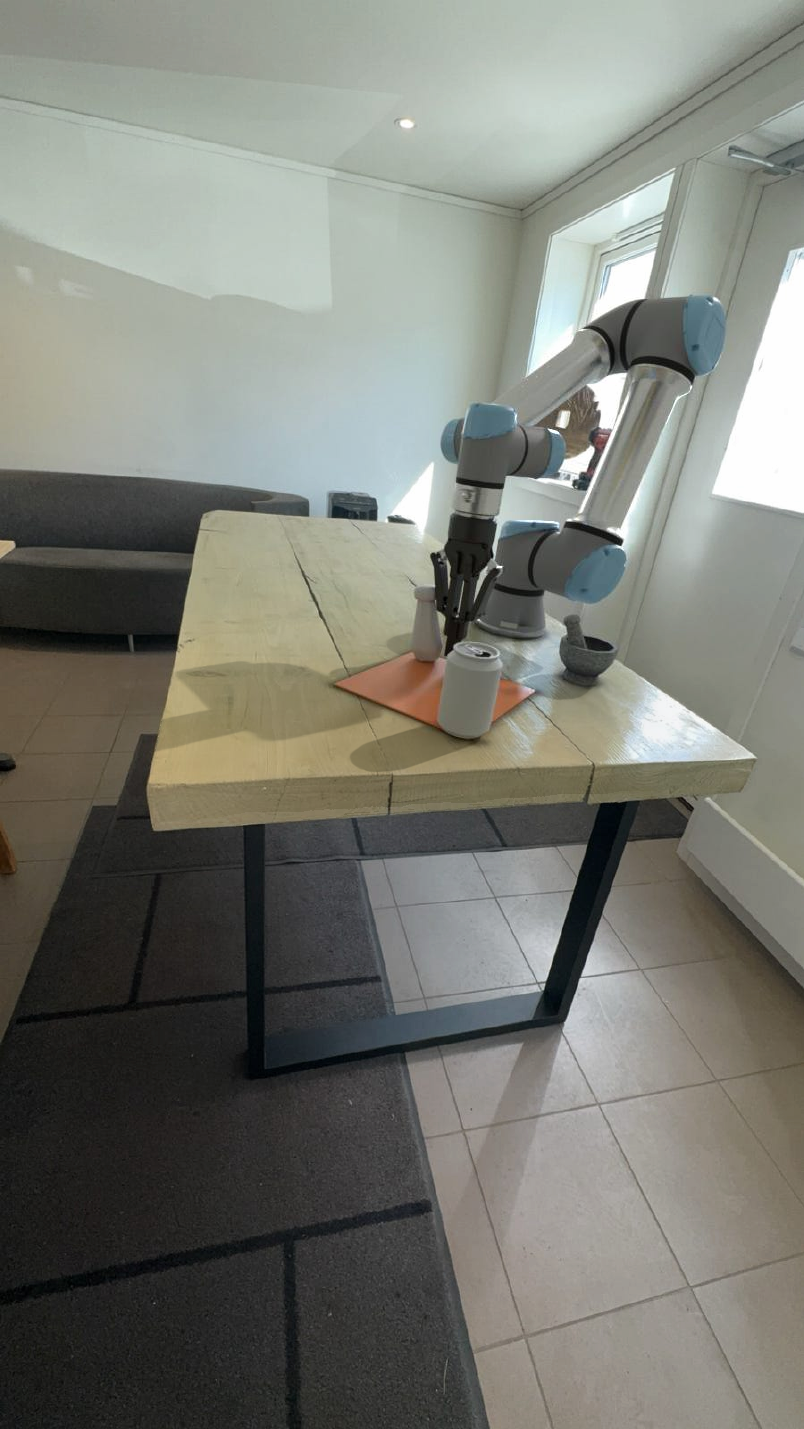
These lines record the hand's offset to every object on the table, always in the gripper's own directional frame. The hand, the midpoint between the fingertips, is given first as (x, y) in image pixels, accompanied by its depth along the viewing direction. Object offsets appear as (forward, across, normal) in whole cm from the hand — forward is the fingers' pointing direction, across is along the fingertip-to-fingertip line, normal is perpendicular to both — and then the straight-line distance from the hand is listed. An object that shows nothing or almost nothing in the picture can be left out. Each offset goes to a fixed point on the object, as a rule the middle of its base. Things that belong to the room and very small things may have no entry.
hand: (451, 655), depth 102 cm
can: (+3, +13, -19) cm, 23 cm away
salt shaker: (+2, -5, 0) cm, 5 cm away
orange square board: (+3, +3, -9) cm, 10 cm away
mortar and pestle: (+3, +18, +15) cm, 24 cm away
